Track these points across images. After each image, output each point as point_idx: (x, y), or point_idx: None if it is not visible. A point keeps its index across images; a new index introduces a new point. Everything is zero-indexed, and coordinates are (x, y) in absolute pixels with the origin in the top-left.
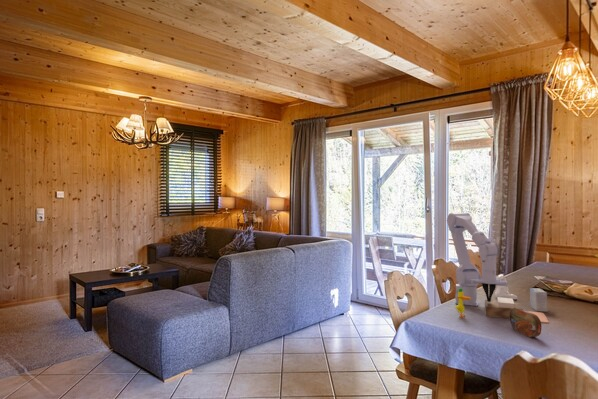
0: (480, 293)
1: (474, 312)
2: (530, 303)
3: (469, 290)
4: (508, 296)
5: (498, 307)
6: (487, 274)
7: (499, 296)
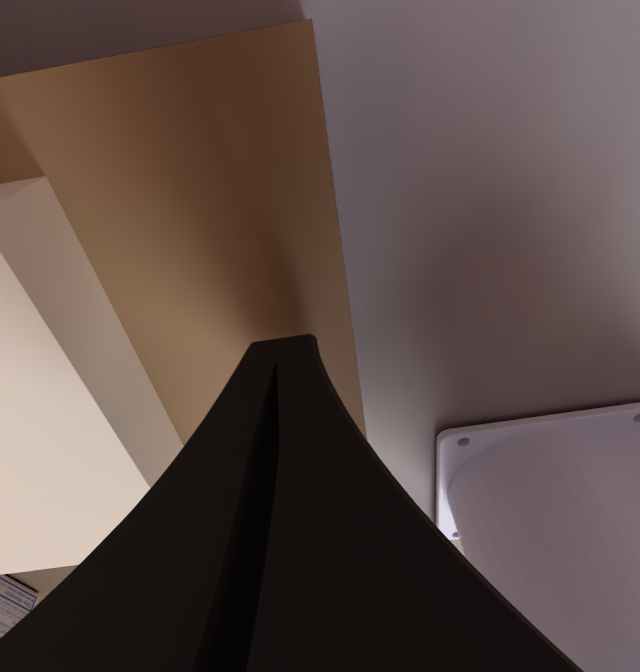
0: None
1: (487, 152)
2: (16, 619)
3: (626, 608)
4: None
5: (18, 116)
6: None
7: None
